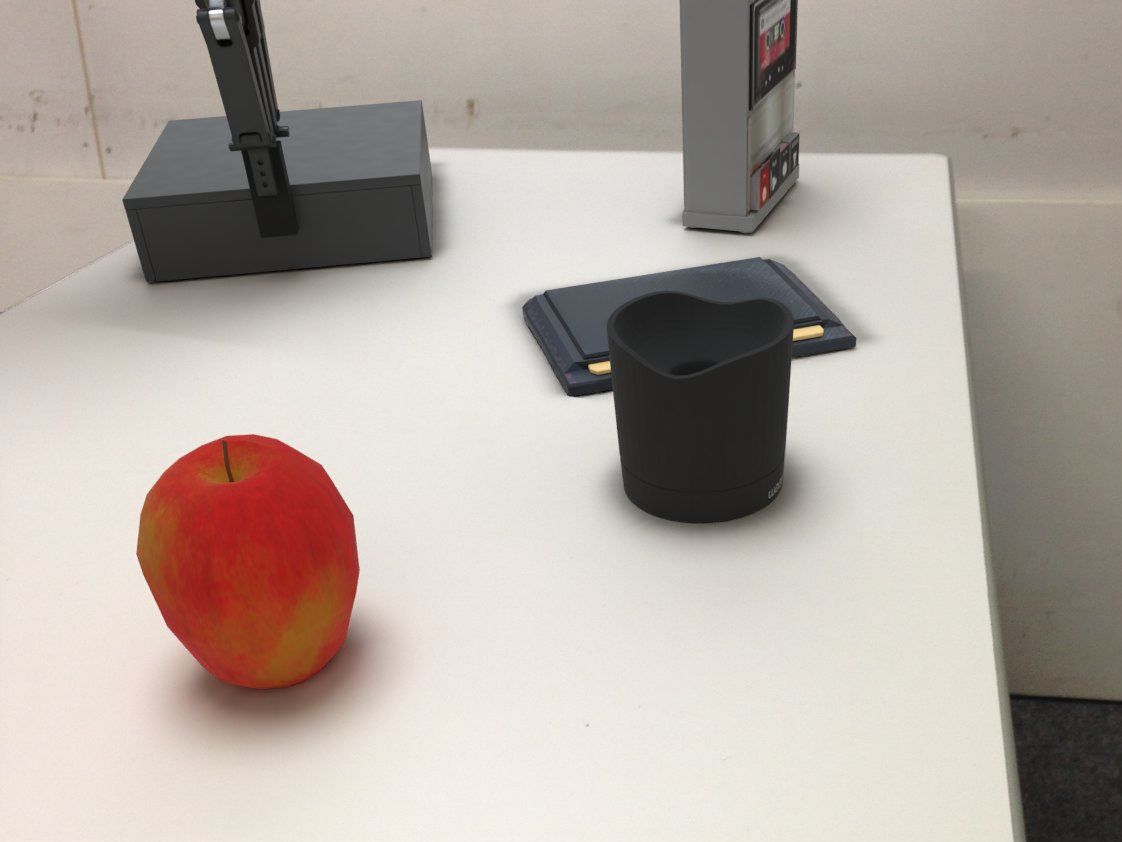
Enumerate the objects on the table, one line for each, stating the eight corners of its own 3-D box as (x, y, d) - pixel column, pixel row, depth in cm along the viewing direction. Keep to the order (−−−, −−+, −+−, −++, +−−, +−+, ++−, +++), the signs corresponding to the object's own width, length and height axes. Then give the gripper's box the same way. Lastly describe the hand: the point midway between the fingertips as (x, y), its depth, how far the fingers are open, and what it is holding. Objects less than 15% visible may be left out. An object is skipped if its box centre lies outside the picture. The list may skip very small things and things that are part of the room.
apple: (205, 618, 63) (136, 396, 56) (389, 603, 63) (343, 381, 56) (163, 744, 56) (77, 507, 48) (371, 726, 56) (316, 489, 49)
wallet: (782, 244, 94) (862, 324, 82) (782, 269, 95) (860, 351, 84) (515, 282, 91) (558, 371, 79) (518, 307, 92) (561, 399, 80)
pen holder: (678, 559, 65) (673, 380, 59) (586, 484, 72) (572, 315, 66) (824, 502, 69) (832, 328, 63) (723, 435, 76) (722, 271, 69)
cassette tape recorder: (755, 236, 101) (759, -130, 86) (682, 229, 103) (674, -130, 88) (801, 180, 111) (812, -156, 96) (734, 175, 113) (735, -155, 98)
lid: (145, 282, 99) (121, 199, 95) (187, 194, 115) (168, 120, 112) (432, 256, 100) (419, 173, 96) (432, 173, 117) (421, 100, 113)
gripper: (248, -119, 78) (323, 259, 92) (271, -143, 88) (335, 200, 102) (122, -111, 77) (217, 269, 92) (160, -136, 88) (240, 208, 102)
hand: (279, 232), depth 97 cm, fingers closed
